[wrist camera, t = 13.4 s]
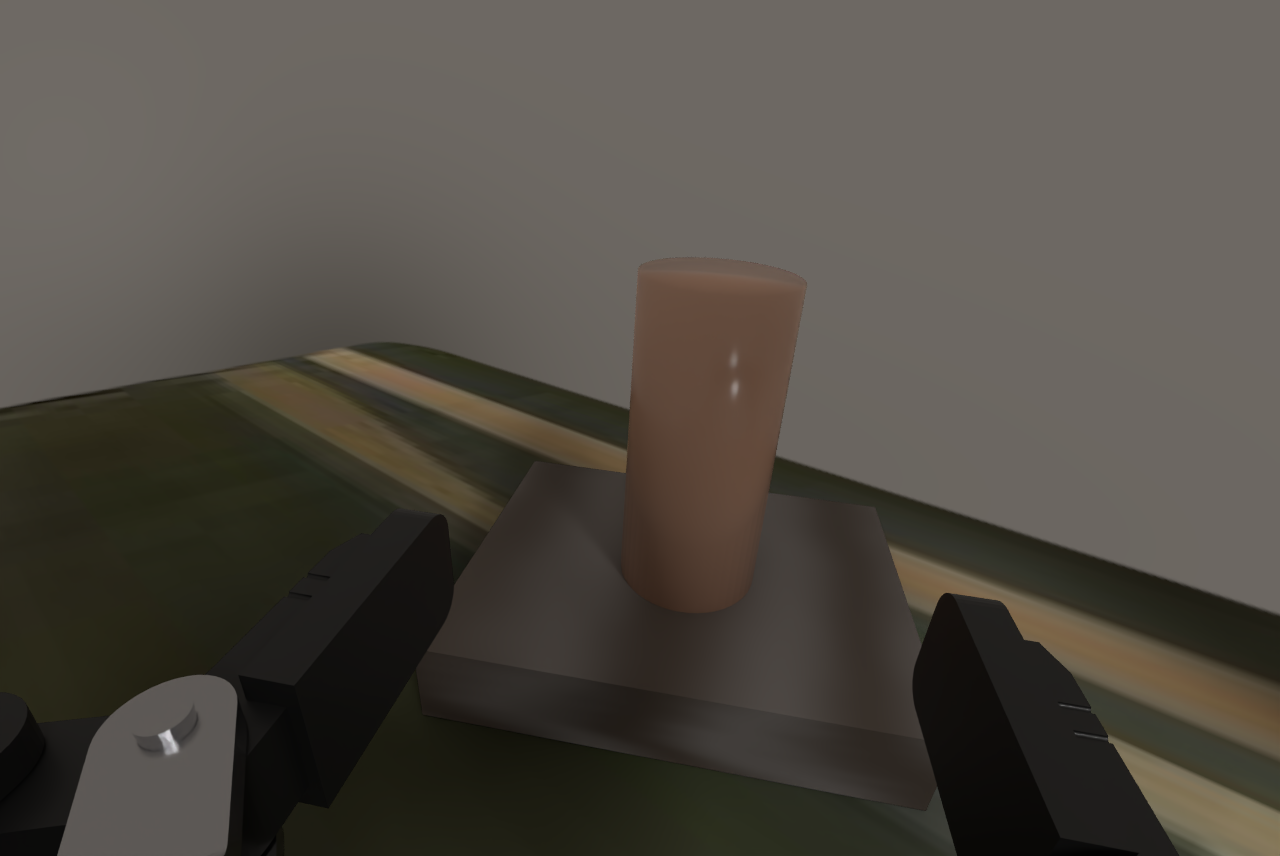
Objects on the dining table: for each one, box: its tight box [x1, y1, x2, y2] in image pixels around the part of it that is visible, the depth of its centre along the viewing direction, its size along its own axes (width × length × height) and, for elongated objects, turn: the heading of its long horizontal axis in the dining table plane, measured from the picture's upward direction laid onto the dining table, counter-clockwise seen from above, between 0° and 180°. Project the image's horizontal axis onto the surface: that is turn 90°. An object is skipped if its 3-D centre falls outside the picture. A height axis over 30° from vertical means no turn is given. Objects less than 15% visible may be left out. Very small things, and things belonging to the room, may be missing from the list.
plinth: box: [416, 461, 937, 811], centre depth 24 cm, size 16×12×3 cm
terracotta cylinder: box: [621, 257, 807, 613], centre depth 20 cm, size 5×5×11 cm
